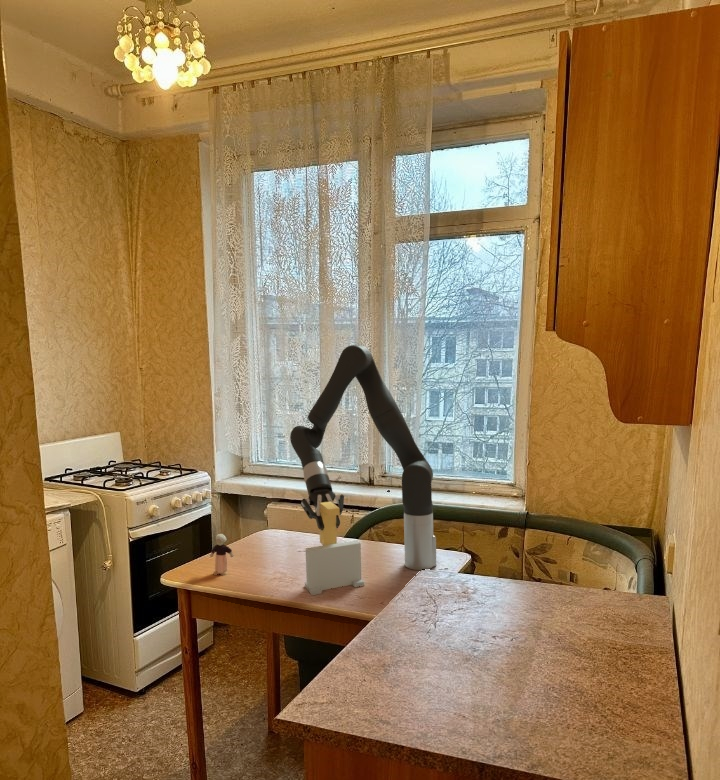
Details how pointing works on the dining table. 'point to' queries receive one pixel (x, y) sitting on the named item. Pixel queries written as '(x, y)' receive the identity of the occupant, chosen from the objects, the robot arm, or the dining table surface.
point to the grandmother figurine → (221, 555)
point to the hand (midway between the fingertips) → (330, 527)
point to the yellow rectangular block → (329, 523)
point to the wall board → (333, 566)
